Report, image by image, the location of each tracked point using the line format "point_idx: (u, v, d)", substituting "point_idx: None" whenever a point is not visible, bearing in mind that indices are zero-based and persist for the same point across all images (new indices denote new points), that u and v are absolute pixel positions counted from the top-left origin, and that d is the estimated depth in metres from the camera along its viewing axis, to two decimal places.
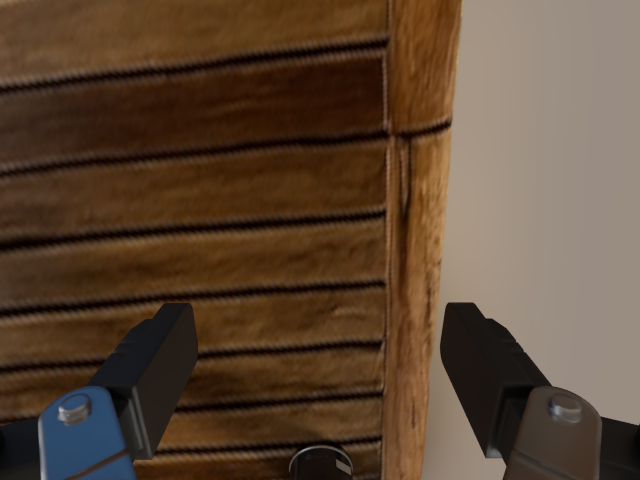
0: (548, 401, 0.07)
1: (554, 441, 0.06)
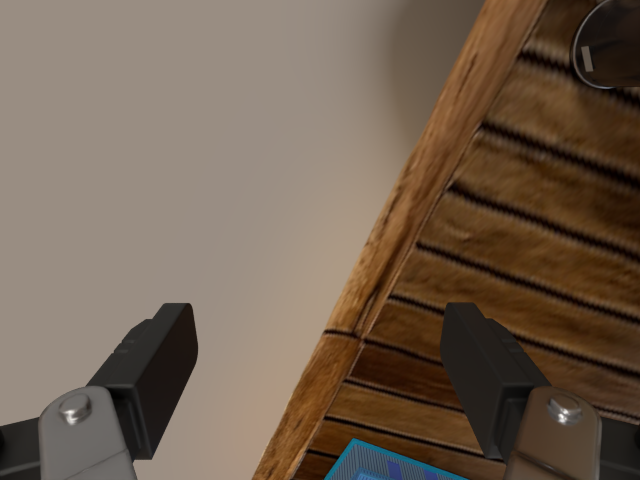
0: (548, 401, 0.07)
1: (554, 441, 0.06)
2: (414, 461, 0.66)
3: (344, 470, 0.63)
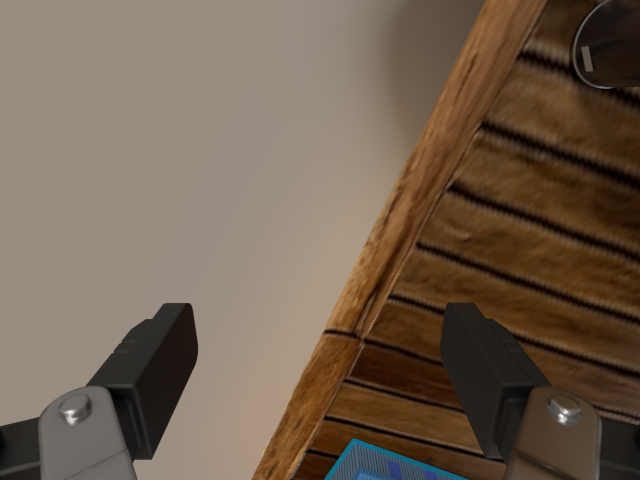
0: (548, 401, 0.07)
1: (554, 441, 0.06)
2: (414, 461, 0.66)
3: (344, 470, 0.63)
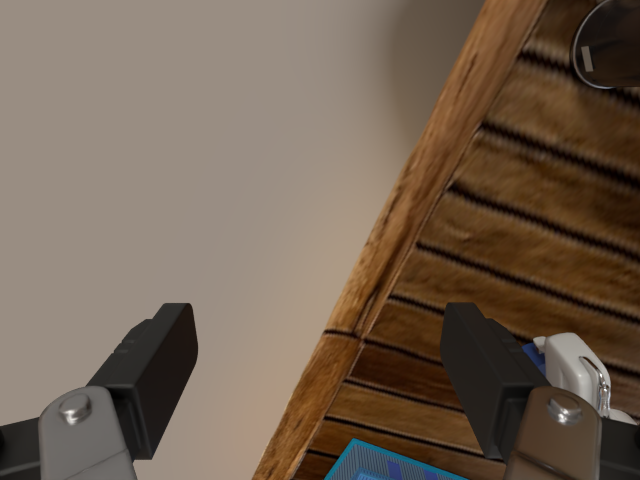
0: (548, 401, 0.07)
1: (554, 441, 0.06)
2: (414, 461, 0.66)
3: (344, 470, 0.63)
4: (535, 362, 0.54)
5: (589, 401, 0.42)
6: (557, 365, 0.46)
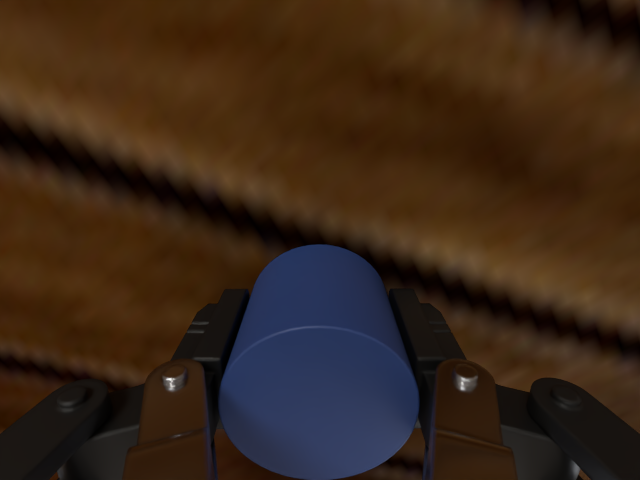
0: (451, 371, 0.08)
1: (463, 409, 0.07)
2: None
3: None
4: (249, 331, 0.09)
5: None
6: None
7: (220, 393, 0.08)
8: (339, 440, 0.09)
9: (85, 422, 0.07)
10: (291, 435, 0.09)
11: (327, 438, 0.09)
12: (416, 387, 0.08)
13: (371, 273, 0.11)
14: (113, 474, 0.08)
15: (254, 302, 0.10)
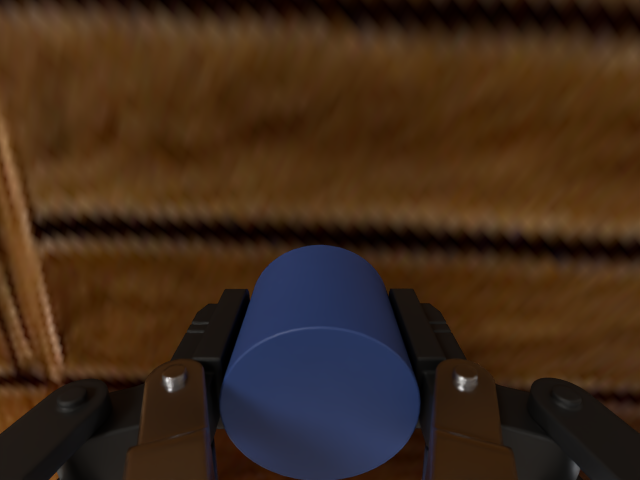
0: (451, 371, 0.08)
1: (463, 409, 0.07)
2: None
3: None
4: (250, 331, 0.09)
5: None
6: None
7: (221, 394, 0.08)
8: (340, 441, 0.09)
9: (85, 422, 0.07)
10: (292, 436, 0.09)
11: (328, 439, 0.09)
12: (417, 388, 0.08)
13: (372, 274, 0.11)
14: (113, 474, 0.08)
15: (255, 303, 0.10)
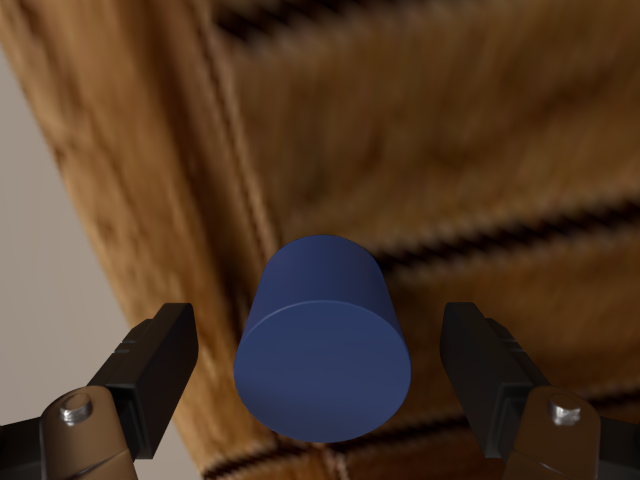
0: (547, 401, 0.07)
1: (553, 441, 0.06)
2: None
3: None
4: (261, 307, 0.10)
5: None
6: None
7: (236, 361, 0.10)
8: (341, 405, 0.10)
9: None
10: (298, 400, 0.10)
11: (330, 403, 0.10)
12: (408, 356, 0.09)
13: (369, 260, 0.13)
14: None
15: (264, 285, 0.11)
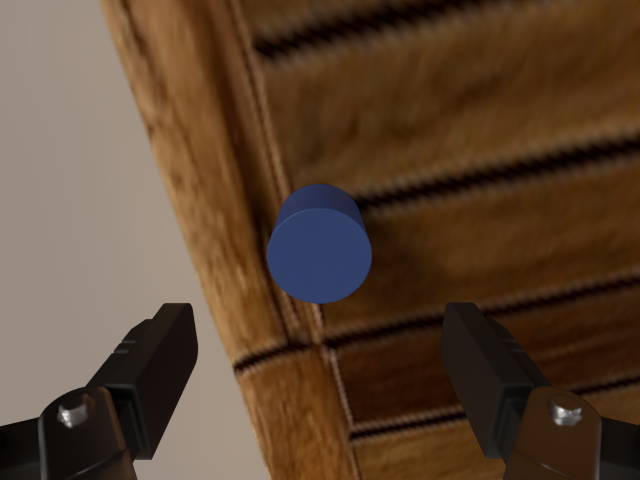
0: (548, 401, 0.07)
1: (554, 441, 0.06)
2: None
3: None
4: (283, 217, 0.17)
5: None
6: None
7: (268, 247, 0.16)
8: (330, 276, 0.17)
9: None
10: (305, 273, 0.17)
11: (324, 275, 0.17)
12: (369, 243, 0.16)
13: (350, 199, 0.19)
14: None
15: (283, 210, 0.18)
